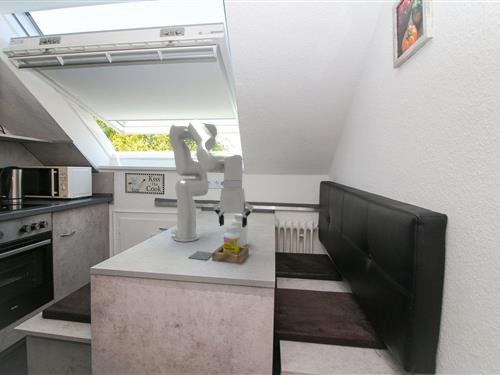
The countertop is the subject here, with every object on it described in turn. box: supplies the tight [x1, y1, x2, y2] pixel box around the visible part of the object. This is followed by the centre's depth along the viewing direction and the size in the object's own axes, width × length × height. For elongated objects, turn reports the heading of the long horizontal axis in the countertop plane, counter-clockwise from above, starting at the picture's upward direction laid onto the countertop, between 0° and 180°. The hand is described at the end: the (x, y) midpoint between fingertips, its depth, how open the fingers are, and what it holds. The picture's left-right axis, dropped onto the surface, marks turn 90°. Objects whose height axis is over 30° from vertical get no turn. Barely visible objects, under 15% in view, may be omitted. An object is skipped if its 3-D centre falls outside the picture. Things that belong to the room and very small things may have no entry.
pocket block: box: [211, 243, 250, 265], centre depth 98 cm, size 12×12×3 cm
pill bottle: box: [231, 213, 249, 247], centre depth 116 cm, size 8×8×15 cm
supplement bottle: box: [223, 225, 240, 255], centre depth 98 cm, size 7×7×13 cm
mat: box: [188, 250, 213, 261], centre depth 98 cm, size 8×8×1 cm
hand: (232, 226), depth 97 cm, fingers open, 9 cm apart
